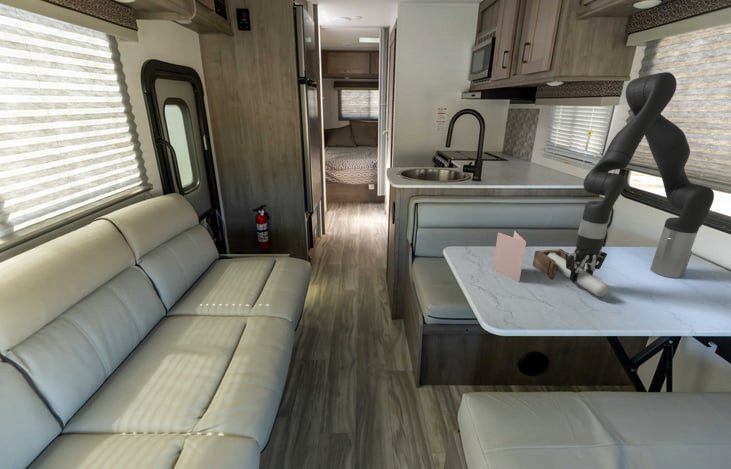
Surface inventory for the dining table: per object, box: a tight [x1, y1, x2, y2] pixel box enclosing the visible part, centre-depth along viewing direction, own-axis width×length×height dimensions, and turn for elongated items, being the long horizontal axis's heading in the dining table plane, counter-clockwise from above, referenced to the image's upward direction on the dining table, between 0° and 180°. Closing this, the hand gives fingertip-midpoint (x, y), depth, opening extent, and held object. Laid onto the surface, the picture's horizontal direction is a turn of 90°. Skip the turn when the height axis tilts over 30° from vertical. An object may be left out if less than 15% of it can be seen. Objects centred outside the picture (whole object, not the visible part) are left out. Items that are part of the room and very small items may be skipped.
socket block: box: [532, 248, 586, 281], centre depth 132 cm, size 13×12×6 cm
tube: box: [548, 253, 610, 297], centre depth 123 cm, size 5×5×25 cm
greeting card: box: [492, 230, 528, 283], centre depth 127 cm, size 11×7×15 cm, turn 178°
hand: (579, 280), depth 121 cm, fingers closed on tube, 4 cm apart
